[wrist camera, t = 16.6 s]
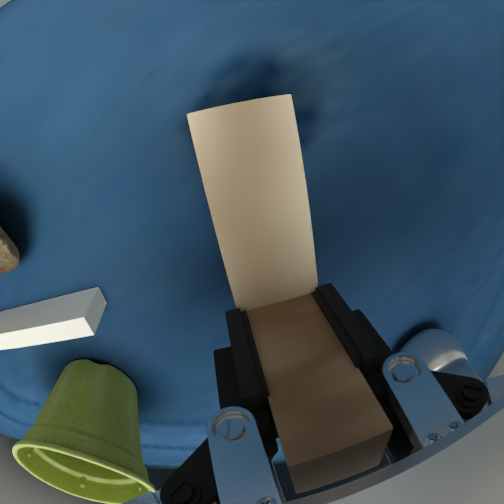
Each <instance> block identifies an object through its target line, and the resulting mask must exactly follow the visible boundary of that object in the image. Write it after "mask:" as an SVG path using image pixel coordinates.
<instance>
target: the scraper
mask: <svg viewBox="0 0 504 504" xmlns="http://www.w3.org/2000/svg"><path fill="white" fill-rule="evenodd" d="M187 118H188V122H189V126H190V131H191V135H192V139H193V144H194V148H195V152H196V156H197V160H198V164H199V168H200V172H201V177H202V181H203V185H204V189H205V193H206V197H207V201H208V204H209V208H210V212H211V216H212V220H213V224H214V228H215V232H216V235H217V239H218V243H219V247H220V251H221V254H222V258H223V262H224V265H225V269H226V273H227V276H228V280H229V284H230V287H231V291H232V294H233V298H234V302H235V305H236V309H237V308H240V311H245V310H246V311H247V314H248V318H249V322H250V325H251V329H252V333H253V336H254V340H255V344H256V347H257V351H258V355H259V358H260V362H261V365H262V369H263V372H264V376H265V379H266V383H267V386H268V390H269V394H270V396H268V400H269V404H270V407H271V411H272V414H273V418H274V421H275V425H276V428H277V432H278V435H279V439H280V442H281V446H282V449H283V453H284V456H285V459H286V463H287V466H288V469H289V473H290V475H291V479H292V482H293V485H294V488H295V492H296V494H298V493H301V492H305V491H308V490H312V489H315V488H318V487H321V486H325V485H328V484H331V483H333V482H336V481H339V480H342V479H345V478H347V477H350V476H353V475H355V474H358V473H360V472H363V471H365V470H368V469H370V468H372V467H374V466H377V465H379V463H380V460H381V458H382V456H383V453H384V451H385V449H386V446H387V444H388V441H389V439H390V436H391V434H392V431H393V426H392V424H391V423H390V421H389V419H388V417H387V416H386V414H385V412H384V411H383V409H382V407H381V405H380V404H379V402H378V400H377V399H376V397H375V395H374V393H373V392H372V390H371V388H370V387H369V385H368V383H367V382H366V380H365V378H364V377H363V375H362V373H361V372H360V370H359V368H355V366H354V364H353V363H352V361H351V359H350V358H349V356H348V354H347V353H346V351H345V349H344V347H343V346H342V344H341V342H340V341H339V339H338V338H337V336H336V334H335V333H334V331H333V329H332V328H331V326H330V324H329V323H328V321H327V319H326V318H325V316H324V314H323V313H322V311H321V310H320V308H319V306H318V305H317V303H316V301H315V300H314V298H313V297H312V292H314V291H316V287H318V280H317V269H316V259H315V250H314V241H313V233H312V224H311V216H310V209H309V201H308V194H307V187H306V180H305V173H304V166H303V160H302V154H301V147H300V141H299V135H298V130H297V124H296V118H295V113H294V107H293V102H292V97H291V94H287V95H279V96H273V97H266V98H260V99H254V100H248V101H243V102H238V103H233V104H228V105H223V106H218V107H214V108H209V109H205V110H201V111H197V112H192V113H188V114H187Z"/></svg>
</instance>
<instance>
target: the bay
mask: <svg viewBox="0 0 504 504" xmlns="http://www.w3.org/2000/svg"><path fill="white" fill-rule="evenodd" d="M9 1H11V0H0V8H1V7H2V6H4V5H5V4H6V3H8V2H9ZM106 304H107V302H106V300H105V298H104V296H103V294H102V292H101V290H100V288H99V287H95V288H91V289H87V290H83V291H79V292H75V293H71V294H67V295H63V296H59V297H55V298H51V299H48V300H44V301H40V302H36V303H32V304H28V305H24V306H20V307H16V308H12V309H9V310H5V311H1V312H0V350H5V349H12V348H19V347H26V346H33V345H39V344H46V343H52V342H58V341H64V340H70V339H75V338H81V337H87V336H92V335H95V332H96V330H97V327H98V324H99V322H100V319H101V317H102V314H103V312H104V309H105V307H106Z"/></svg>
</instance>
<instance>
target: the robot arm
mask: <svg viewBox="0 0 504 504" xmlns="http://www.w3.org/2000/svg"><path fill="white" fill-rule="evenodd" d="M312 297H313V298H314V300H315V301H316V303H317V305H318V306H319V308H320V310H321V311H322V313H323V314H324V316H325V318H326V319H327V321H328V323H329V324H330V326H331V328H332V329H333V331H334V333H335V334H336V336H337V338H338V339H339V341H340V342H341V344H342V346H343V347H344V349H345V351H346V353H347V354H348V356H349V358H350V359H351V361H352V363H353V364H354V366H355V368H359V370H360V372H361V373H362V375H363V377H364V378H365V380H366V382H367V383H368V385H369V387H370V388H371V390H372V392H373V393H374V395H375V397H376V399H377V400H378V402H379V404H380V405H381V407H382V409H383V411H384V412H385V414H386V416H387V417H388V419H389V421H390V423H391V424H392V426H393V431H392V434H391V436H390V439H389V441H388V444H387V446H386V449H385V453H386V455H387V457H388V459H389V462H390V464H391V465H390V466H388V467H385V468H383V469H381V470H379V471H376V472H374V473H372V474H369V475H367V476H365V477H362V478H360V479H357V480H355V481H352V482H349V483H347V484H344V485H341V486H338V487H336V488H333V489H330V490H327V491H324V492H321V493H317V494H314V495H311V496H307V497H304V498H300V499H297V500H293V501H289V502H285V499H284V496H283V493H282V490H281V487H280V485H279V482H278V479H277V476H276V473H275V470H274V467H273V464H272V461H271V460H272V458H273V457H274V456H275V454H276V453H277V451H278V447H277V446H278V445H277V442H276V438H279V435H278V432H277V428H276V425H275V421H274V418H273V414H272V411H271V407H270V404H269V400H268V396H270V394H269V390H268V386H267V383H266V379H265V376H264V372H263V369H262V365H261V362H260V358H259V355H258V351H257V347H256V344H255V340H254V336H253V333H252V329H251V325H250V322H249V318H248V314H247V311H246V310H245V311H240V308H237V309H233V310H229V311H225V313H226V319H227V325H228V331H229V336H230V342H231V347H227V348H222V349H218V350H214V361H215V370H216V378H217V386H218V394H219V402H220V410H219V411H217V412H216V413H214V414H213V415H212V417H211V418H210V419H209V421H208V424H207V436H208V438H207V439H206V440H205V441H204V442H203V443H202V444H201V445H200V446H199V447H198V448H197V449H196V450H195V452H194V453H193V454H192V455H191V456H190V457H189V458H188V459H187V460H186V461H185V462H184V463H183V464H182V465H181V466H180V467H179V468H178V469H177V470H176V471H175V472H174V473H173V474H172V475H171V476H170V477H169V478H168V479H167V480H166V481H165V483H164V484H163V485H162V487H161V489H160V490H158V491H156V492H154V493H153V492H152V491H150V492H148V493H145V494H143V495H141V496H139V497H136V498H134V499H131V500H129V501H127V502H124V503H122V504H504V375H501V376H496V377H490V378H485V380H484V381H483V382H482V381H480V380H479V379H476V378H473V377H467V376H461V375H455V374H449V373H444V372H438V371H433V370H429V369H428V367H427V366H426V364H425V363H424V362H423V360H422V359H421V358H420V357H419V356H417V355H415V354H413V353H409V352H400V353H396V354H393V353H392V351H391V350H390V349H389V347H388V346H387V345H386V343H385V342H384V341H383V339H382V338H381V337H380V335H379V334H378V333H377V331H376V330H375V329H374V327H373V326H372V325H371V323H370V322H369V321H368V319H367V318H366V317H365V316H364V314H363V313H362V312H361V311H360V310H355V311H351V309H350V308H349V307H348V305H347V304H346V303H345V301H344V300H343V299H342V297H341V296H340V295H339V293H338V292H337V291H336V289H335V288H334V287H333V285H332V284H331V283H328V284H325V285H321V286H318V287H316V291H314V292H312Z"/></svg>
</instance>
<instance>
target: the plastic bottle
mask: <svg viewBox="0 0 504 504" xmlns="http://www.w3.org/2000/svg"><path fill="white" fill-rule="evenodd" d="M400 352H409V353H413V354H415V355H417V356H419V357H420V358H421V359H422V360H423V362H424V363H425V364H426V366H427V367H428V369H429V370H433V371H438V372H444V373H449V374H455V375H461V376H467V377H473V378H476V379H479V380H480V381H481V379H480V378H479V376H478V375H477V373H476V372H475V370H474V369H473V367H472V366H471V365H470V363H469V362H468V361H467V358H466V356H465V354H464V352H463V350H462V349H461V347H460V346H459V344H458V343H457V341H456V340H455V339H454V338H453V337H452V336H450V335H449V334H448V333H446V332H445V331H443V330H440V329H426V330H423V331H421V332H419V333H417V334H416V335H414V336H413V337H412V338H410V339H409V340H408V341H407V342H406V343H405V344H404V345H403V346H402V348H401V349H400V350H399V352H398V353H400Z"/></svg>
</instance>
